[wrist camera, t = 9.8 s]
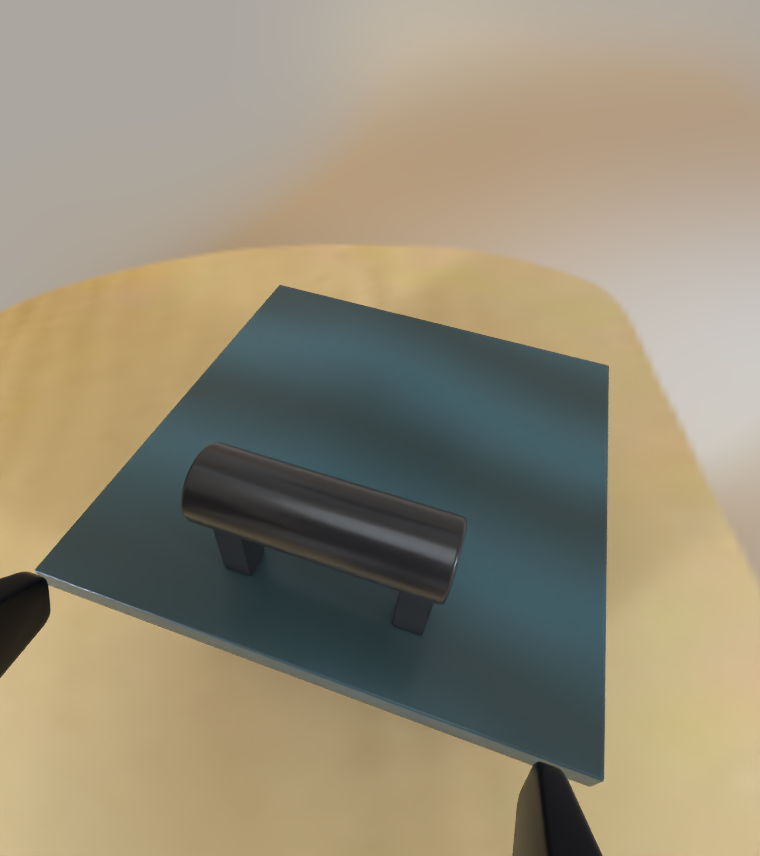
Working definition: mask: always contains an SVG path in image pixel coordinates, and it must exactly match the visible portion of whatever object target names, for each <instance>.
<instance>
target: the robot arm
mask: <svg viewBox="0 0 760 856" xmlns="http://www.w3.org/2000/svg"><path fill="white" fill-rule="evenodd" d="M49 615H50V599H49V589H48V582H47V580H46V579H45V578H44V577H41V576H39V575H36V574H33V573H31V572H20V573H16V574H13V575H10V576H7V577H4V578H1V579H0V678H1V676H2V675H3V674H4V673H5V672H6V670H7V669H8V668H9V667H10V666H11V664H12V663H13V662H14V661H15V660H16V658H17V657H18V656H19V655H20V654H21V652H22V651H23V650H24V649H25V648H26V646H27V645H28V644H29V643H30V642H31V640H32V639H33V638H34V637H35V636H36V634H37V633H38V632H39V631H40V630H41V628H42V627H43V626H44V625H45V623H46V622H47V620H48V618H49ZM513 856H602V854H601V852H600V849H599V847H598V845H597V843H596V841H595V838H594V836H593V834H592V832H591V830H590V827H589V825H588V823H587V821H586V819H585V816H584V814H583V812H582V810H581V808H580V806H579V803H578V801H577V799H576V797H575V795H574V792H573V790H572V788H571V786H570V784H569V781H568V779H567V777H566V775H565V774H564V772H563V771H562V770H561V769H559V768H557V767H554V766H551V765H549V764H546V763H543V762H540V761H538V762H536V763H535V764H534V765H533V767H532V769H531V771H530V773H529V775H528V777H527V779H526V781H525V783H524V785H523V787H522V789H521V791H520V794H519V798H518V803H517V812H516V823H515V834H514V845H513Z"/></svg>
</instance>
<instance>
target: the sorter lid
mask: <svg viewBox="0 0 760 856" xmlns="http://www.w3.org/2000/svg"><path fill="white" fill-rule="evenodd" d="M608 388H609V366H607V365H603V364H599V363H595V362H591V361H587V360H583V359H579V358H575V357H571V356H567V355H563V354H559V353H555V352H550V351H546V350H542V349H538V348H534V347H530V346H526V345H522V344H518V343H514V342H510V341H506V340H502V339H498V338H494V337H489V336H485V335H481V334H477V333H473V332H469V331H465V330H461V329H457V328H453V327H449V326H445V325H441V324H437V323H433V322H428V321H424V320H420V319H416V318H412V317H408V316H404V315H400V314H396V313H392V312H388V311H384V310H380V309H376V308H372V307H367V306H363V305H359V304H355V303H351V302H347V301H343V300H339V299H335V298H331V297H327V296H323V295H319V294H315V293H311V292H306V291H302V290H298V289H294V288H290V287H286V286H282V285H279V286H278V288H277V289H276V290H275V291H274V292H273V293H272V295H271V296H270V297H269V298H268V299H267V300H266V302H265V303H264V304H263V305H262V306H261V307H260V309H259V310H258V311H257V312H256V313H255V314H254V316H253V317H252V318H251V319H250V320H249V321H248V323H247V324H246V325H245V326H244V327H243V328H242V330H241V331H240V332H239V333H238V334H237V335H236V336H235V338H234V339H233V340H232V341H231V342H230V343H229V345H228V346H227V347H226V348H225V349H224V350H223V352H222V353H221V354H220V355H219V356H218V357H217V359H216V360H215V361H214V362H213V363H212V364H211V366H210V367H209V368H208V369H207V370H206V371H205V373H204V374H203V375H202V376H201V377H200V378H199V380H198V381H197V382H196V383H195V384H194V385H193V387H192V388H191V389H190V390H189V391H188V392H187V394H186V395H185V396H184V397H183V398H182V399H181V400H180V402H179V403H178V404H177V405H176V406H175V407H174V409H173V410H172V411H171V412H170V413H169V414H168V416H167V417H166V418H165V419H164V420H163V421H162V423H161V424H160V425H159V426H158V427H157V428H156V430H155V431H154V432H153V433H152V434H151V435H150V437H149V438H148V439H147V440H146V441H145V442H144V444H143V445H142V446H141V447H140V448H139V449H138V451H137V452H136V453H135V454H134V455H133V456H132V458H131V459H130V460H129V461H128V462H127V463H126V464H125V466H124V467H123V468H122V469H121V470H120V471H119V473H118V474H117V475H116V476H115V477H114V478H113V480H112V481H111V482H110V483H109V484H108V485H107V487H106V488H105V489H104V490H103V491H102V492H101V494H100V495H99V496H98V497H97V498H96V499H95V501H94V502H93V503H92V504H91V505H90V506H89V508H88V509H87V510H86V511H85V512H84V513H83V515H82V516H81V517H80V518H79V519H78V520H77V522H76V523H75V524H74V525H73V526H72V527H71V528H70V530H69V531H68V532H67V533H66V534H65V535H64V537H63V538H62V539H61V540H60V541H59V542H58V544H57V545H56V546H55V547H54V548H53V549H52V551H51V552H50V553H49V554H48V555H47V556H46V558H45V559H44V560H43V561H42V562H41V563H40V565H39V566H38V567H37V568H36V569H35V572H36V573H37V574H38V575H39V576H41V577H44V578H45V579H46V580H47V582H48V585H50V586H52V587H55V588H58V589H61V590H63V591H66V592H69V593H71V594H74V595H77V596H79V597H82V598H85V599H87V600H90V601H93V602H95V603H98V604H101V605H103V606H106V607H109V608H111V609H114V610H117V611H120V612H122V613H125V614H128V615H130V616H133V617H136V618H138V619H141V620H144V621H146V622H149V623H152V624H154V625H157V626H160V627H162V628H165V629H168V630H171V631H173V632H176V633H179V634H181V635H184V636H187V637H189V638H192V639H195V640H197V641H200V642H203V643H205V644H208V645H211V646H213V647H216V648H219V649H222V650H224V651H227V652H230V653H232V654H235V655H238V656H240V657H243V658H246V659H248V660H251V661H254V662H256V663H259V664H262V665H264V666H267V667H270V668H272V669H275V670H278V671H281V672H283V673H286V674H289V675H291V676H294V677H297V678H299V679H302V680H305V681H307V682H310V683H313V684H315V685H318V686H321V687H323V688H326V689H329V690H332V691H334V692H337V693H340V694H342V695H345V696H348V697H350V698H353V699H356V700H358V701H361V702H364V703H366V704H369V705H372V706H374V707H377V708H380V709H382V710H385V711H388V712H391V713H393V714H396V715H399V716H401V717H404V718H407V719H409V720H412V721H415V722H417V723H420V724H423V725H425V726H428V727H431V728H433V729H436V730H439V731H442V732H444V733H447V734H450V735H452V736H455V737H458V738H460V739H463V740H466V741H468V742H471V743H474V744H476V745H479V746H482V747H484V748H487V749H490V750H493V751H495V752H498V753H501V754H503V755H506V756H509V757H511V758H514V759H517V760H519V761H522V762H525V763H527V764H530V765H534V764H535V763H536V762H538V761H540V762H543V763H546V764H549V765H551V766H554V767H557V768H559V769H561V770H562V771H563V772H564V774H565V775H566V777H567V778H568V779H570V780H573V781H576V782H578V783H581V784H584V785H586V786H593V785H595V784H598V783H600V782H602V781H603V780H604V740H605V652H606V564H607V476H608Z"/></svg>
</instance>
